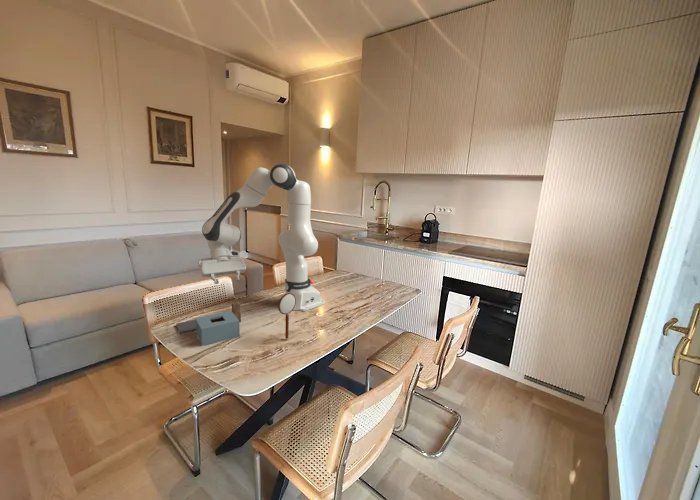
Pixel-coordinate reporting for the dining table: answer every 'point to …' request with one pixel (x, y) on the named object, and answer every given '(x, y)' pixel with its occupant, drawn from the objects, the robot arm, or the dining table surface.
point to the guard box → (217, 327)
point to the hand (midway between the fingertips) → (227, 281)
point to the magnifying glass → (287, 308)
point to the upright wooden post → (236, 309)
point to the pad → (186, 326)
